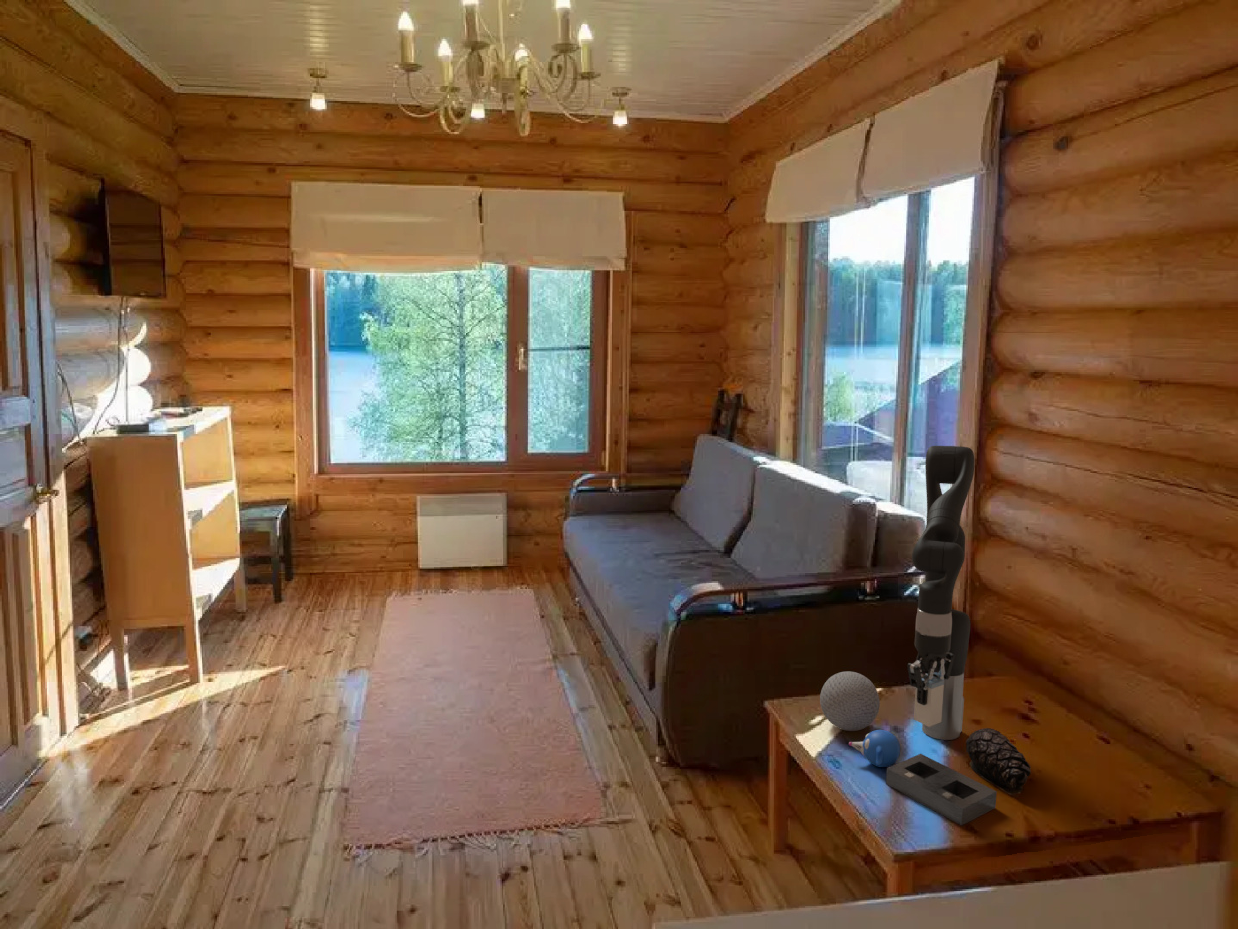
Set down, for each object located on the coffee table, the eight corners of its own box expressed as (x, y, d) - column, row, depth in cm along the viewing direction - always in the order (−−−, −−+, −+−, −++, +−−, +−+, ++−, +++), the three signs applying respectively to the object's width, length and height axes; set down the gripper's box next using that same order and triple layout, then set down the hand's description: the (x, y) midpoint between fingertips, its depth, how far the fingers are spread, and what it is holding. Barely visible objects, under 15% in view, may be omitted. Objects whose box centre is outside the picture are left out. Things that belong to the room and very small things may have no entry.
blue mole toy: (849, 748, 222) (851, 716, 220) (899, 755, 218) (901, 723, 217) (846, 772, 211) (847, 739, 209) (898, 780, 207) (900, 746, 205)
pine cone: (1012, 801, 198) (1015, 759, 196) (955, 763, 214) (958, 724, 213) (1047, 791, 202) (1051, 751, 200) (989, 755, 218) (992, 717, 216)
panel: (919, 769, 212) (920, 752, 211) (995, 808, 195) (996, 790, 194) (886, 784, 205) (886, 767, 204) (961, 825, 189) (962, 807, 188)
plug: (925, 714, 204) (928, 671, 202) (941, 722, 200) (944, 677, 198) (913, 719, 201) (916, 675, 199) (929, 726, 198) (932, 682, 196)
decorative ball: (881, 744, 224) (884, 688, 221) (820, 739, 226) (822, 683, 224) (875, 717, 238) (877, 664, 236) (817, 712, 241) (820, 660, 238)
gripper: (939, 617, 204) (935, 687, 207) (898, 630, 196) (894, 703, 199) (968, 627, 197) (963, 699, 201) (926, 640, 190) (922, 715, 193)
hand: (928, 700), depth 200 cm, fingers closed on plug, 4 cm apart
